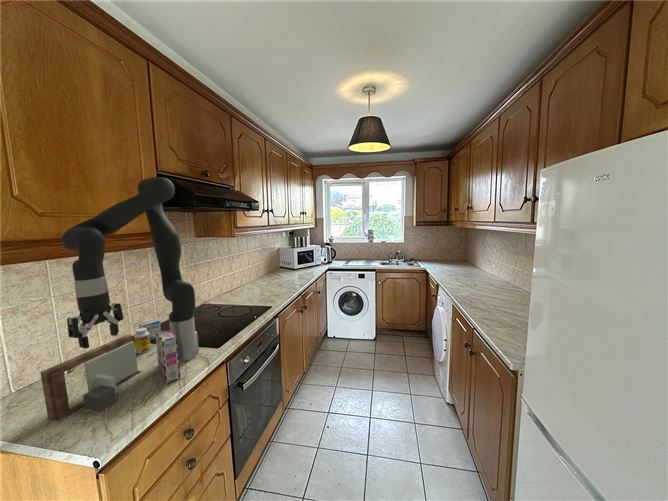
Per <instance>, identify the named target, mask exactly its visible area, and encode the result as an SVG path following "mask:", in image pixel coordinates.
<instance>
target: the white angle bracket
mask: <svg viewBox="0 0 668 501" xmlns="http://www.w3.org/2000/svg"><path fill="white" fill-rule="evenodd" d="M136 354H137V353H136V349H135V340H133V341H131V342H129V343H127V344H125V345H123V346H120V347H118V348H116V349H114V350H112V351H110V352H107V353H104V354H102V355H100V356H98V357H95V358H93V359H91V360H89V361H87V362H85V363H83V364H84V371H85V376H86V377H85V378H86V383H87V393H88V392H89V391H91V390H93V389H95V388H97V387H98V386H100V385H103V386H108V387H114V388H115V394H117V392H118V390H117V387H116V383H118V382H120V381H121V380H123V379H125V378H126V377H128V376H130V375H132V374H133V373H135V372H137V371H139V368H138V362H137V355H136Z"/></svg>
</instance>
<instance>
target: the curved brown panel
mask: <svg viewBox="0 0 668 501" xmlns="http://www.w3.org/2000/svg"><path fill="white" fill-rule="evenodd" d="M133 339H134V337H133V335H132V334H126V335H123V336H121V337H118V338H117V339H114V340H112V341H110V342H109V341H108V342H107V343H105V344H103V345H100V346H98V347H95V348H93V349H91V350H89V351H86V352H84V353H81V354H80V355H77V356H74V357H72V358H70V359H67V360H66V361H63V362H61V363H59V364H56V365H54V366H52V367H49V368H47V369H44V370H42V371H40V378H41V384H42V389H43V397H44V402H45V403H44V404H45V409H46V413H47V419H49V420H51V421H52V420H53V421H57V422H60V421H61V419H62V420H63V419H65V418H66V417H68V416H70V415H71V414H74V413H75V412H77V411H78V410H80V409H81V407H82V408H83V407H85V401H84V400H83V401H81V402H79V403H77V404H76V405H74V406H73V407H70V403H69V397H68V391H67V384H66V378H65V372H67V371H69V370H72V369H74V368H76V367H78V366H80V365H83V364H84V363H86V362H88V361H90V360H92V359H94V358H97V357H99V356H101V355H103V354H105V353H107V352H110V351H112V350H114V349H116V348H118V347H120V346H123V345H125V344H127V343H129V342H131V341H134V340H133ZM140 373H141V370H138V371H137V372H135V373H133V374H132V375H130V376H128V377H126V378H125V379H123V380H121V381H120V382H118V383H116V388H117V387H119V386H121V385H122V384H124V383H125V382H127V381H129V380H130V379H131V378H134V377H136V376H137V375H139V374H140Z"/></svg>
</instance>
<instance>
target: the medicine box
mask: <svg viewBox="0 0 668 501" xmlns="http://www.w3.org/2000/svg"><path fill="white" fill-rule="evenodd" d="M138 327H139V328H138V329H140V328H146V329H147V332H149V337H150V342H151V341H153V340H156V334H155V333H156V332H159V331H162V329H161V321H160V320H159V319H157V318H156V319H153V320H149V321H146V322H142V323H139V324H138Z"/></svg>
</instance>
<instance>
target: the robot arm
mask: <svg viewBox="0 0 668 501" xmlns="http://www.w3.org/2000/svg"><path fill="white" fill-rule="evenodd" d="M137 186H138V187H137V191H138V194H136V195H135V196H134V195H133V196H132V197H129V198H127V199H124V200H122V201H120V202H117V203H115V204H113V205H112V206H109V207H108V208H107V209H105V210H103V211H101V212H100V213H98V214H97V215H95V216H94V217H92V218H90V219H86V220H85V221H84V220H83V221H82V222H80V223H77V224H76V225H74V226H72V227H70V228H68V229H67V230H65V232H64V233H63V234H62V237H61V243H62V245H63V246H64V247H65V248H66V249H68V250H71V251H74V252H75V251H76V252H78V259H77V260H75V261H73V262H72V265H71V266H72V267H71V268H72V273H73V280H74V291H75V292H74V293H75V298H76V303H77V309H78V311H79V315H77V316H74V317H71V316H70V317H68V318H67V319H66V323H67V333H68V334H67V335H68V338H70V339H71V338H74V339H77V341H78V346H79V347H80V348H82V349H84V350H87V349H88V348H90V343H89V337H88V333H89V331H90V330H92V329H93V326H96V325H99V324H100V323H101V324H102V323H105V322H107V323H109V325H108V326H109V332H110V336H112V337H113V336H114V337H115V336H118V335H119V332H120V331H119V330H120V329H119V322H120V321H123V320H124V319H125V318H124V314H123V308H122V304H121V303H119V302H118V303H117V302H113V303H112V304H111V305H110V303H111V300H110V293H109V288H108V287H109V285H108V281H107V279H106V276H105V269H104V268H105V267H104V258H105V251H106V240H105V236H109V235H114V234H115V233H117V232H119V231H120V230H122V228H124V227H125V226H127V225H128V224H130V223H131V222H132V221H133V220H135V219H136V218H138V217H140V216H141V215H143V214H144V213H145V215H146V218H147V224H148V226H149V230H150V234H151V240H152V244H153V247H154V253H155V255H156V259H157V263H158V267H159V271H160V276H161V277H160V278H161V286H162V287H161V289H162V293H163V297H164V299H165V300H167V301H169V302H170V303H171V308H172V309H171V312H169V314H168V323H169V330H170V331H171V332H172V333H173V334H174V335H175V336H176V337H177V346H178V359H179V363H182V362H187V361H191V360H192V359H194V358H195V357H196V356H198V354H199V352H200V350H199V338H198V336H199V335H198V332H197V331H196V325H195V324H196V322H195V312H196V295H195V294H196V292H195V289H194V286H193V285H192V284H191V283H190V282H186V281H184V280H183V277H182V275H181V270H180V262H181V256H182V244H181V241H180V240H181V239H180V235H179V233H178V231H177V229H176V228H175V226H174V225H173V224H172V223H171V221H170V220H169V219H168V217H167V215H166V214H165V212H164V207H163V203H166V202H167V201H169V200H171V199H173V197H174V196H175V193H176V192H175V191H176V189H175V185H174V184H173V182H172V181H171V180H170V179H168V178H167V177H162V176H161V177H160V176H157V177H148V178H147V177H146V178H143V179H140V181H139V182H138V184H137ZM111 312H112V313H113V314H112V315H111ZM80 322H81V323H80Z"/></svg>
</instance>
